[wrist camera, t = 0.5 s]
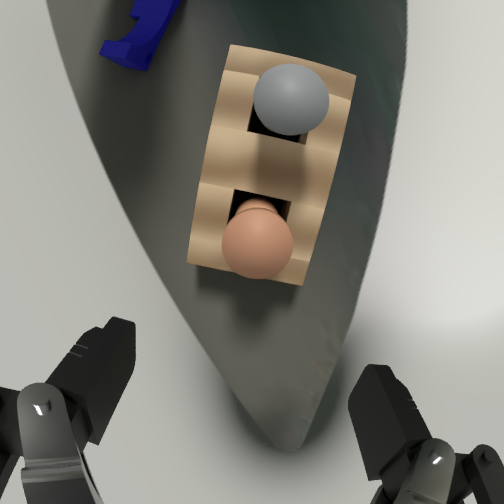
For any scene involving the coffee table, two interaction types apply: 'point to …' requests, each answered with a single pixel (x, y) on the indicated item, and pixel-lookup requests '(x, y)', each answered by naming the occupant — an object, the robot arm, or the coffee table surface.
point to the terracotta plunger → (257, 240)
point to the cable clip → (141, 34)
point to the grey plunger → (290, 99)
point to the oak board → (267, 161)
